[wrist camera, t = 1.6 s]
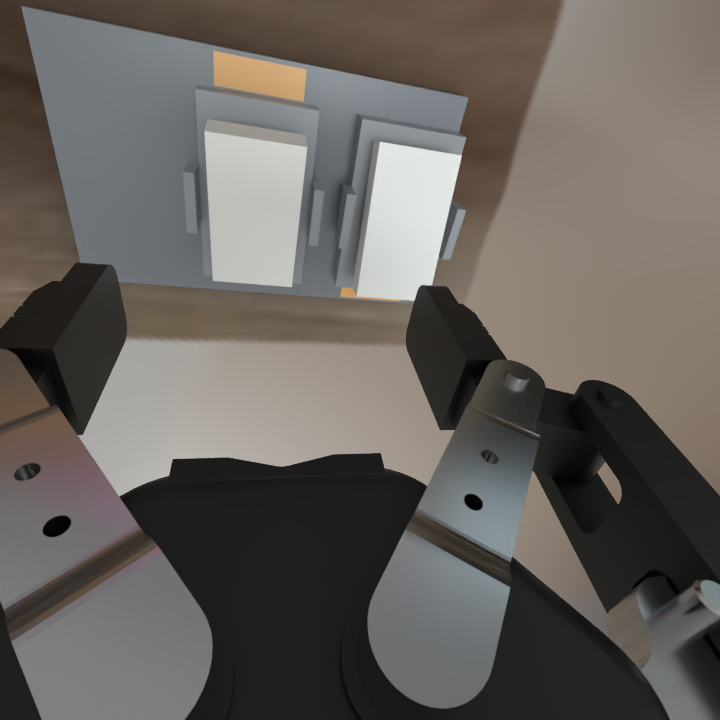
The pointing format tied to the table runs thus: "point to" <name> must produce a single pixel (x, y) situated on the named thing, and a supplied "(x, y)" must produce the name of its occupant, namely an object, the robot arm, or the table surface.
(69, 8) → the table surface
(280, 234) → the near rocker
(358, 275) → the far rocker
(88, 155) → the switch unit
